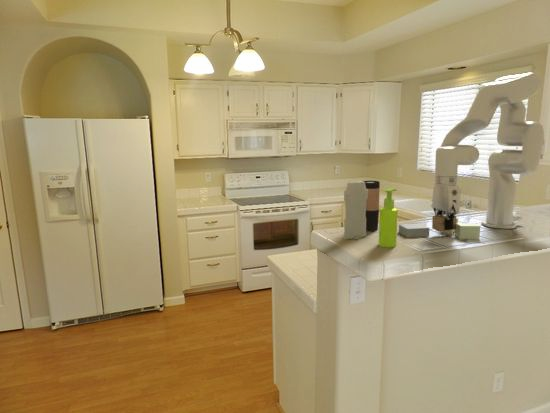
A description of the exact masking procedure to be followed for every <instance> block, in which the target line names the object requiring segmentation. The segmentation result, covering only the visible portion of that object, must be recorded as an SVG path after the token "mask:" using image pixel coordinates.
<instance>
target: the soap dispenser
mask: <svg viewBox="0 0 550 413" xmlns="http://www.w3.org/2000/svg"><path fill="white" fill-rule="evenodd" d="M384 191H385V193H386V198H384V199H383V207H381V208H380V207H379V222H378V229H379V230H378V231H379V232H378V246H379V247H382V248H395V247H396V246H397V235H398V234H397V230H398V208H396V207H395V199H394V198H393V192H397V189H396V188H387V189H385V190H384Z"/></svg>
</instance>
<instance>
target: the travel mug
mask: <svg viewBox="0 0 550 413" xmlns="http://www.w3.org/2000/svg"><path fill="white" fill-rule="evenodd" d="M362 182H365V186H366V189H367V190H368V198H367V200H366V214H365V215H366V232H376V231H379V230H378V229H379V219H380V192H381V191H380V189H381V188H380V186H381V185H380V184H381V182H380V181H379V180H362Z"/></svg>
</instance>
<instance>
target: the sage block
mask: <svg viewBox="0 0 550 413" xmlns="http://www.w3.org/2000/svg"><path fill="white" fill-rule="evenodd" d="M480 234H481V225H479V224H478V223H474V222H473V223H472V222H471V223H469V222H467V223H466V222H465V223H461V222H458V223H456V229H455V232H454V237H456V236H457V237H456V238H457V239H459V240H479V239H480V236H481V235H480Z"/></svg>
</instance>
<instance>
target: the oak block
mask: <svg viewBox="0 0 550 413" xmlns="http://www.w3.org/2000/svg"><path fill="white" fill-rule="evenodd" d="M456 223H459V218H458V217H457V219H456ZM453 232H454V233H455V229H454V230H447V231H439V233H445V234H454V233H453Z"/></svg>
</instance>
